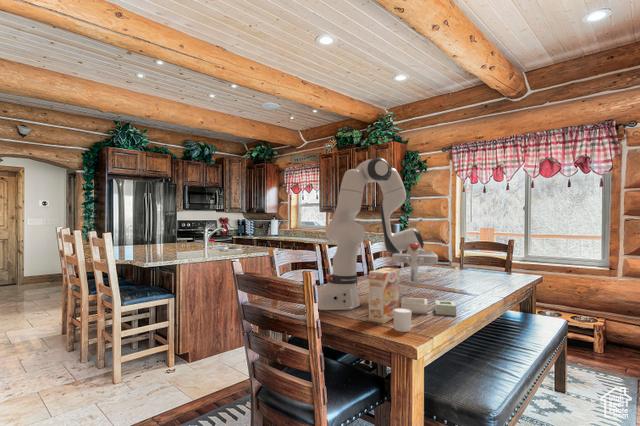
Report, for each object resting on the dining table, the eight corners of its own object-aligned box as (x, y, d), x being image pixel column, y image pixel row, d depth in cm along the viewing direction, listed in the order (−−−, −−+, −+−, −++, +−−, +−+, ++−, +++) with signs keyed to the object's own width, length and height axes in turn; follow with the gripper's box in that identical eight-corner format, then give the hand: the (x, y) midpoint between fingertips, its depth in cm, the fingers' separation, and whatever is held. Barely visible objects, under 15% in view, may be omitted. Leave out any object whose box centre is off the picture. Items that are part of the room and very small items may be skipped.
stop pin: (412, 282, 154) (412, 244, 154) (407, 280, 158) (407, 243, 158) (421, 281, 155) (421, 244, 155) (416, 279, 159) (416, 243, 159)
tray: (400, 312, 153) (400, 302, 153) (402, 305, 163) (402, 297, 163) (427, 314, 150) (427, 304, 150) (427, 307, 160) (427, 298, 160)
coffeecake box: (384, 324, 136) (384, 273, 136) (367, 320, 140) (367, 271, 141) (400, 315, 148) (400, 268, 148) (384, 312, 152) (384, 267, 153)
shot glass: (410, 333, 125) (410, 313, 125) (391, 331, 128) (391, 311, 128) (412, 327, 132) (412, 308, 132) (394, 325, 134) (394, 307, 134)
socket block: (436, 314, 150) (435, 304, 150) (435, 309, 158) (435, 300, 158) (456, 315, 148) (456, 305, 148) (454, 310, 155) (454, 301, 155)
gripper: (392, 249, 172) (390, 252, 158) (437, 251, 166) (438, 254, 153) (392, 262, 172) (390, 266, 158) (437, 264, 166) (438, 269, 153)
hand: (414, 260), depth 156 cm, fingers closed on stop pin, 3 cm apart
